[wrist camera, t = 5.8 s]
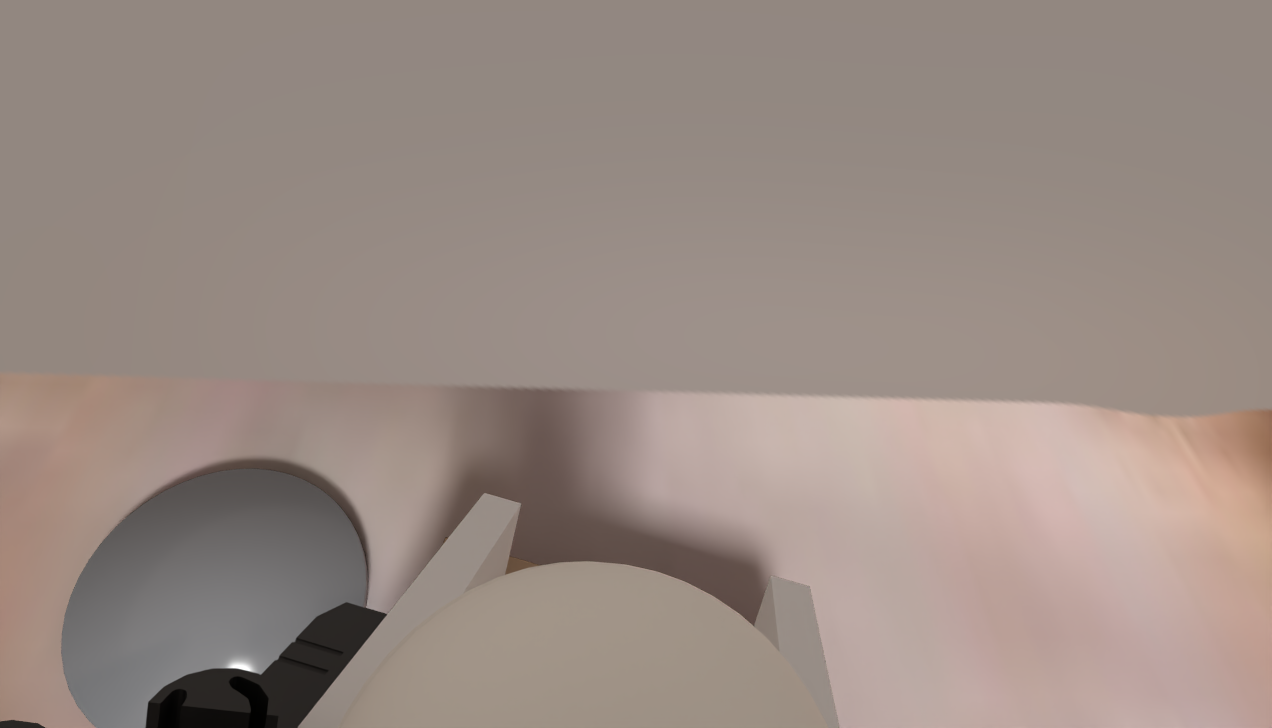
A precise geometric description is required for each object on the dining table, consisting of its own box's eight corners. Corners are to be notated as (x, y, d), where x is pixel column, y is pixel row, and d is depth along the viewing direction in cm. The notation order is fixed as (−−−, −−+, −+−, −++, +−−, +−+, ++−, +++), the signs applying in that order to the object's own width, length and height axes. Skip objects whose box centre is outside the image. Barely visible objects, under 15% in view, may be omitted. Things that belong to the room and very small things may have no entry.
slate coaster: (411, 514, 30) (409, 509, 29) (287, 795, 25) (281, 795, 24) (175, 444, 30) (169, 438, 30) (4, 707, 25) (-7, 705, 24)
